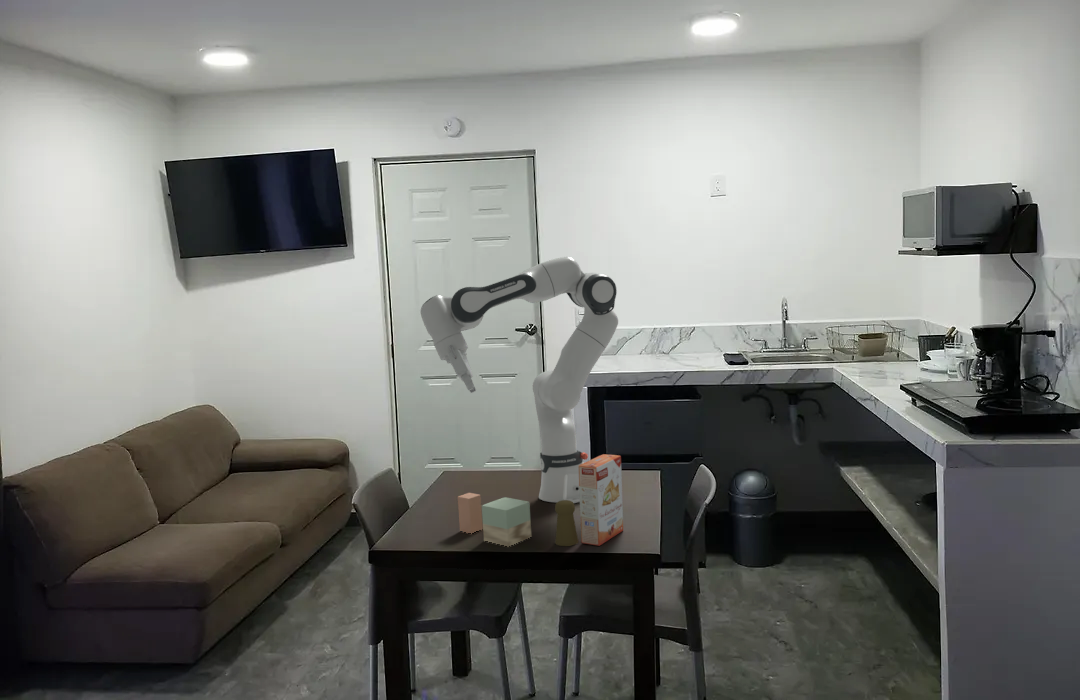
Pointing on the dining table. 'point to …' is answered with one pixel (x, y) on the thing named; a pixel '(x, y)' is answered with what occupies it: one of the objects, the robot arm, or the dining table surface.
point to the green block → (506, 512)
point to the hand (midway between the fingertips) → (472, 390)
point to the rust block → (470, 512)
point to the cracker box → (600, 499)
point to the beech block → (507, 534)
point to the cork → (565, 524)
